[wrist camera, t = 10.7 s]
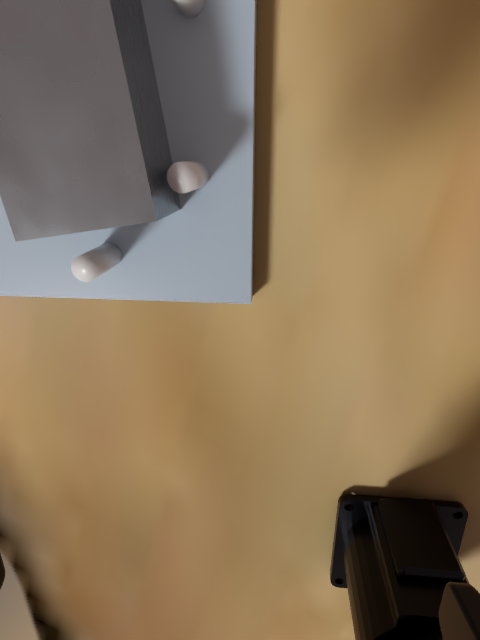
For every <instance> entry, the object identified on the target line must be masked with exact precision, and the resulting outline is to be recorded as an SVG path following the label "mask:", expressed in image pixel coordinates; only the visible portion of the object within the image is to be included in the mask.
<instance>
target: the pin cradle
mask: <svg viewBox="0 0 480 640" xmlns="http://www.w3.org/2000/svg"><path fill="white" fill-rule="evenodd" d="M141 3H142V8H143V13H144V19H145V24H146V29H147V34H148V39H149V44H150V50H151V55H152V60H153V65H154V70H155V76H156V81H157V86H158V91H159V96H160V101H161V107H162V112H163V117H164V122H165V127H166V133H167V138H168V143H169V148H170V153H171V159H172V165H171V166H170V168H169V169H168V172H167V181H168V184H169V186H170V187H171V188H172V189H173V190H174V191H175V192H178V195H179V200H180V205H181V210H179V211H177V212H175V213H173V214H171V215H168V216H166V217H164V218H162V219H160V220H158V221H155V222H148V223H141V224H134V225H127V226H121V227H114V228H107V229H100V230H93V231H86V232H79V233H72V234H65V235H58V236H51V237H45V238H38V239H31V240H24V241H17V242H16V241H15V238H14V235H13V232H12V229H11V226H10V223H9V220H8V217H7V214H6V211H5V208H4V205H3V202H2V200H1V197H0V296H25V297H56V298H87V299H118V300H149V301H180V302H211V303H242V304H251V302H252V297H253V227H254V155H255V83H256V11H257V0H141Z"/></svg>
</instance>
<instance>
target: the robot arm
mask: <svg viewBox="0 0 480 640" xmlns="http://www.w3.org/2000/svg"><path fill="white" fill-rule="evenodd" d="M346 504H351V505H346ZM455 512H457V513H455ZM467 518H468V512H467V510H466V509H465V507H464V505H463V504H462V503H459V502H452V501H437V500H423V499H409V498H394V497H380V496H366V495H352V494H346V495H343V496H341V497H340V498H339V500H338V507H337V516H336V524H335V533H334V542H333V551H332V560H331V568H330V579H331V584H332V585H333V586H335V587H340V588H348V594H349V600H350V607H351V613H352V620H353V626H354V633H355V639H356V640H480V593H479V592H478V591H477V590H476V589H475V588H474V587H473V586H471V585H470V584H469V582H468V579H467V577H466V575H465V572H464V570H463V568H462V566H461V563H460V561H459V559H458V557H457V556H458V552H459V548H460V544H461V541H462V537H463V533H464V529H465V526H466V522H467ZM4 578H5V568H4V564H3V560H2V557H1V553H0V589H1V586H2V584H3V581H4Z"/></svg>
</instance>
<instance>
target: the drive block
mask: <svg viewBox="0 0 480 640" xmlns="http://www.w3.org/2000/svg"><path fill="white" fill-rule="evenodd" d="M171 165H172V159H171V153H170V148H169V143H168V138H167V133H166V127H165V122H164V117H163V112H162V107H161V101H160V96H159V91H158V86H157V81H156V76H155V70H154V65H153V60H152V55H151V50H150V44H149V39H148V34H147V29H146V24H145V19H144V13H143V8H142V3H141V0H0V197H1V200H2V202H3V205H4V208H5V211H6V214H7V217H8V220H9V223H10V226H11V229H12V232H13V235H14V238H15V241H16V242H17V241H24V240H31V239H38V238H45V237H51V236H58V235H65V234H72V233H79V232H86V231H93V230H100V229H107V228H114V227H121V226H127V225H134V224H141V223H148V222H155V221H158V220H160V219H162V218H164V217H166V216H168V215H171V214H173V213H175V212H177V211H179V210H181V205H180V200H179V195H178V192H175V191H174V190H173V189H172V188H171V187H170V186H169V184H168V181H167V172H168V169H169V168H170V166H171Z"/></svg>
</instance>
